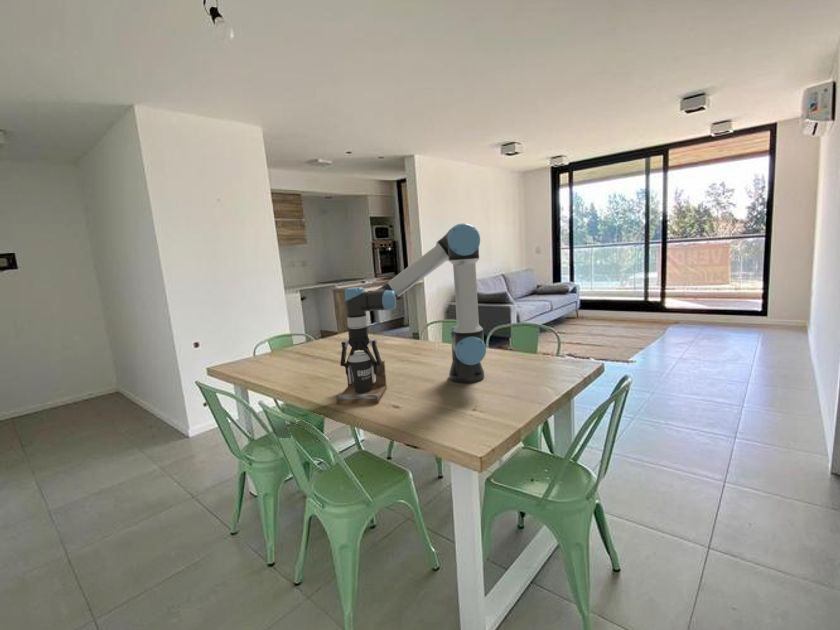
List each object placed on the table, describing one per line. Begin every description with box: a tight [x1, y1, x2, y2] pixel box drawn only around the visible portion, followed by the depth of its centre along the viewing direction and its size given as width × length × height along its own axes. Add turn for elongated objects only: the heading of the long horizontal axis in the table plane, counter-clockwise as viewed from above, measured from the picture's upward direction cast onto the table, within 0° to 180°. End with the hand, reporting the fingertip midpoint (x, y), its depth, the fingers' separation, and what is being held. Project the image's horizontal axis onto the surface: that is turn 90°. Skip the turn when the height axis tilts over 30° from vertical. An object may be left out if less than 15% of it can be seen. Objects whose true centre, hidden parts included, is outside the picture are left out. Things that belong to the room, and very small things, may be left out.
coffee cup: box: [347, 350, 371, 393], centre depth 169 cm, size 10×10×15 cm
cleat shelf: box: [335, 360, 388, 405], centre depth 168 cm, size 16×17×12 cm
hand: (362, 382), depth 169 cm, fingers open, 9 cm apart
